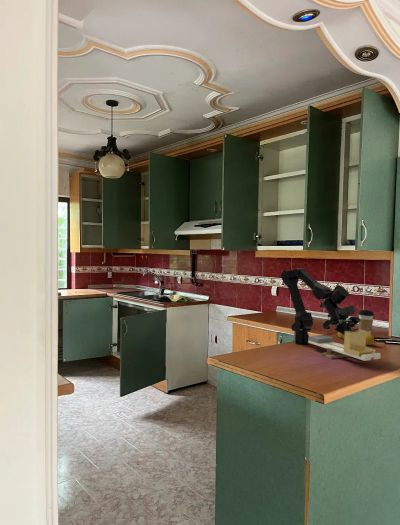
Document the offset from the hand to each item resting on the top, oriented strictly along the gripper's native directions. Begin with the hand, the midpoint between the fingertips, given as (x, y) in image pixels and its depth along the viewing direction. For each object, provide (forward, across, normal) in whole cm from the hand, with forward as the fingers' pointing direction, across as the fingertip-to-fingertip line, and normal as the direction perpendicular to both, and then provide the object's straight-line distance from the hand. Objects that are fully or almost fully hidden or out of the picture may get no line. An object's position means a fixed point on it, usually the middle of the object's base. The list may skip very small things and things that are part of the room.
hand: (351, 338), depth 168 cm
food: (-10, +31, +23) cm, 40 cm away
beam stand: (+2, 0, +11) cm, 11 cm away
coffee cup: (-16, +48, +29) cm, 58 cm away
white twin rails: (+1, 0, +8) cm, 8 cm away
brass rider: (+7, 0, +1) cm, 7 cm away
